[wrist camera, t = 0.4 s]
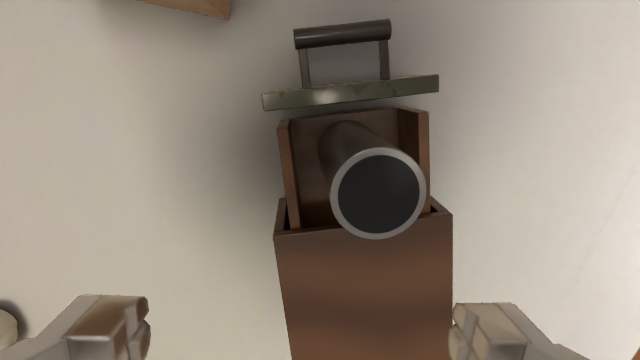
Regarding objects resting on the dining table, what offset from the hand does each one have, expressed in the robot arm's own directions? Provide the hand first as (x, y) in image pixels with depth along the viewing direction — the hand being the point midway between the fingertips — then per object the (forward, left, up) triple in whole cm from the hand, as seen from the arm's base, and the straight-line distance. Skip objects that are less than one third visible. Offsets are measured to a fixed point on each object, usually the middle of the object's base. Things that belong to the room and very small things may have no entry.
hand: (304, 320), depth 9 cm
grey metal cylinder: (-1, +4, -22) cm, 23 cm away
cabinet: (+11, +7, -24) cm, 28 cm away
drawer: (-2, +4, -24) cm, 24 cm away
